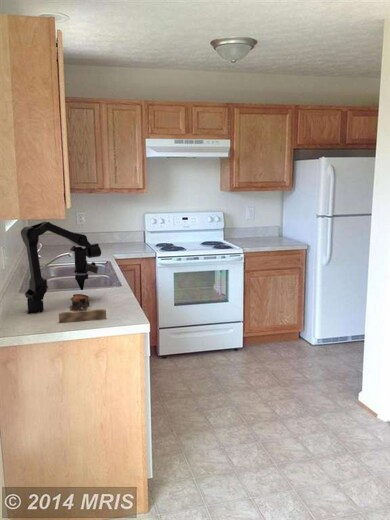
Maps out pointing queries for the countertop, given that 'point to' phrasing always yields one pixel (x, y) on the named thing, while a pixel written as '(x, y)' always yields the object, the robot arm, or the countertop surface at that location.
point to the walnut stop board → (82, 315)
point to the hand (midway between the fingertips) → (82, 289)
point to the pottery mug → (79, 302)
